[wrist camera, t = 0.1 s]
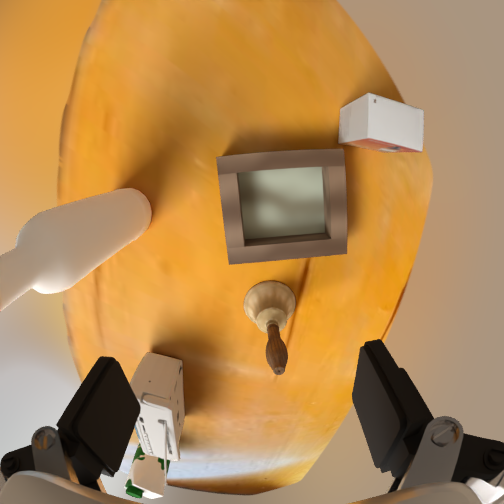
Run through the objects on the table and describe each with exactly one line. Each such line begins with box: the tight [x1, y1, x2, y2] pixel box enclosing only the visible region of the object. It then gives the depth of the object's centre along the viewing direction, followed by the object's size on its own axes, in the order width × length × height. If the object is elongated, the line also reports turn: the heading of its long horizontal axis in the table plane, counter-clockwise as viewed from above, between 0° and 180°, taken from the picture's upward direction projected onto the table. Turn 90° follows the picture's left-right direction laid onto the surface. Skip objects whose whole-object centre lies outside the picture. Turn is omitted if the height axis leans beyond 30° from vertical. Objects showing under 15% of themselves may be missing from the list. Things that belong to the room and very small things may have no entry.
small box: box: [338, 93, 424, 153], centre depth 30 cm, size 8×6×10 cm
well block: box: [216, 149, 347, 265], centre depth 36 cm, size 14×16×4 cm
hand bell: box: [244, 281, 296, 375], centre depth 36 cm, size 8×8×16 cm
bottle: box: [0, 188, 152, 311], centre depth 24 cm, size 8×8×30 cm
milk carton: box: [124, 443, 170, 499], centre depth 48 cm, size 9×9×20 cm
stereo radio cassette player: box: [130, 352, 185, 485], centre depth 40 cm, size 21×8×20 cm, turn 173°
